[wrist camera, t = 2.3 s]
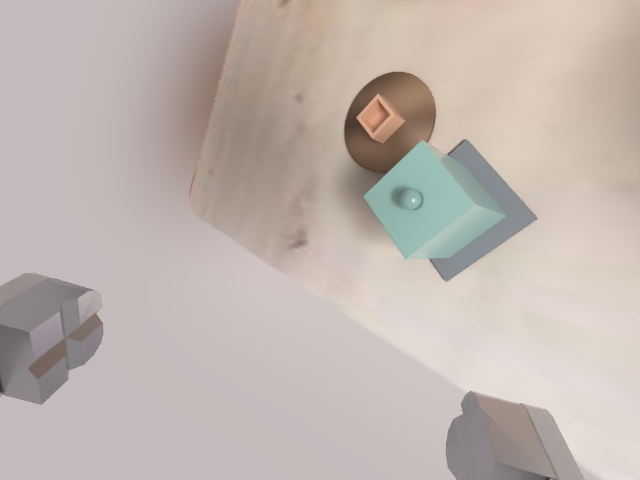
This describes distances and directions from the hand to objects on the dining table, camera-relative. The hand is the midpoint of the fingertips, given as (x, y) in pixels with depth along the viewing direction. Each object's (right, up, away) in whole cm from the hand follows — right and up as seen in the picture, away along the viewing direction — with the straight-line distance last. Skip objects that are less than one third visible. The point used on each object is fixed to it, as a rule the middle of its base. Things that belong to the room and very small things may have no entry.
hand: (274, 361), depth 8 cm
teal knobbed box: (+14, +5, +29) cm, 33 cm away
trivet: (+9, +16, +34) cm, 39 cm away
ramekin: (+8, +16, +34) cm, 38 cm away
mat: (+15, +5, +29) cm, 33 cm away
